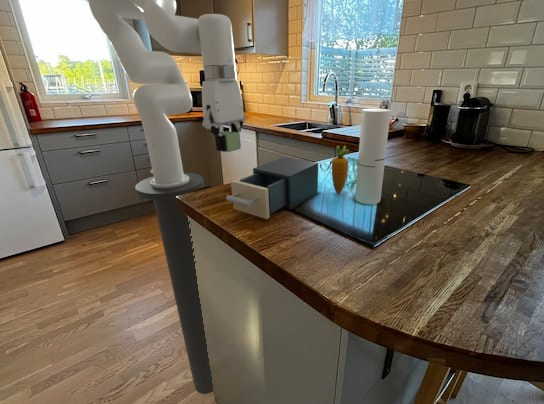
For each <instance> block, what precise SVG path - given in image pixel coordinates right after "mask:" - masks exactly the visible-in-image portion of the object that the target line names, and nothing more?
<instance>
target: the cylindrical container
mask: <svg viewBox="0 0 544 404" xmlns="http://www.w3.org/2000/svg"><path fill="white" fill-rule="evenodd" d="M391 111H392V109H388V108H375V107H374V108H371V107H370V108H363V109H361V120H360V133H359V136H360V137H359V143H358V144H359V145H358V147H359V148H358V158H357V169H356V170H357V172H356V184H355V185H356V186H355V196H354V198H355V201H356V202H358V203H361V204H362V205H363V204H364V205H376V204H379V203H380V202H381V199H382V190H383V182H384V173H385V165H386V156H387V146H388V137H389V129H390V120H391Z"/></svg>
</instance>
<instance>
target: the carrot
mask: <svg viewBox="0 0 544 404" xmlns="http://www.w3.org/2000/svg"><path fill="white" fill-rule="evenodd" d="M335 149H336V154H337V156H336V157H333V158H332V159H331V178H332V184H333V185H332V186H333V188H334V191H335V193H336V194H337V195H340V194H341V193H342V191H343V190H344V187H345V186H346V181H347V177H348V170H349V159H348V158H347V157H345V155H346V154H347V153H348V152H349V151H350V150H349V149H347V146H346V145H343V147H342V150H341V147H340V145H337V146H336V148H335Z"/></svg>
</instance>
